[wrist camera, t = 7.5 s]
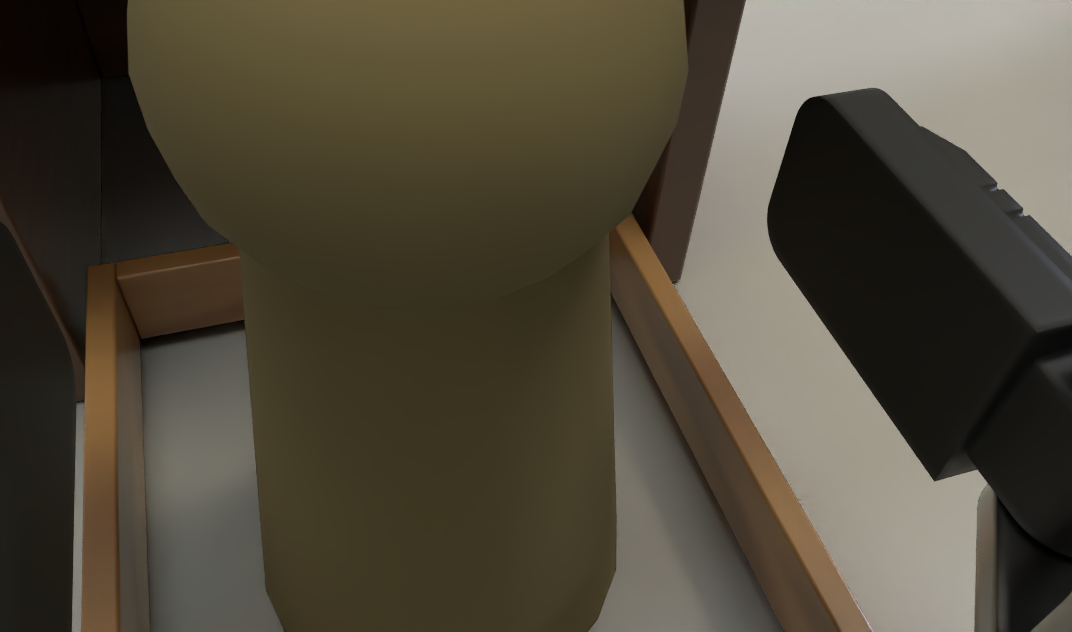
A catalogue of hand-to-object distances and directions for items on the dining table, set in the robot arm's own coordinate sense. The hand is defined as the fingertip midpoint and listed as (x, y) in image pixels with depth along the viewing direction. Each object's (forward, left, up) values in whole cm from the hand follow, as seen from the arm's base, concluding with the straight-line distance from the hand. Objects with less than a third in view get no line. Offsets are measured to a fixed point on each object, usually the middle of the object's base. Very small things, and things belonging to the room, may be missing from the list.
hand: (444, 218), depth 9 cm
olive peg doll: (0, -1, -8) cm, 8 cm away
